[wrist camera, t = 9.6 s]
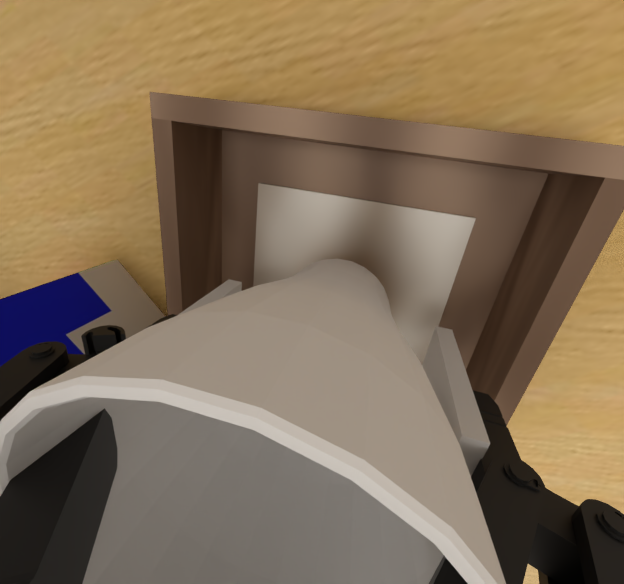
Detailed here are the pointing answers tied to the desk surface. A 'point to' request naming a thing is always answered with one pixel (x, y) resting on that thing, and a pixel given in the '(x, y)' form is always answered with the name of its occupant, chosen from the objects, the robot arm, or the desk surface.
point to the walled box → (390, 219)
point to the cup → (269, 445)
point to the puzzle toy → (74, 310)
